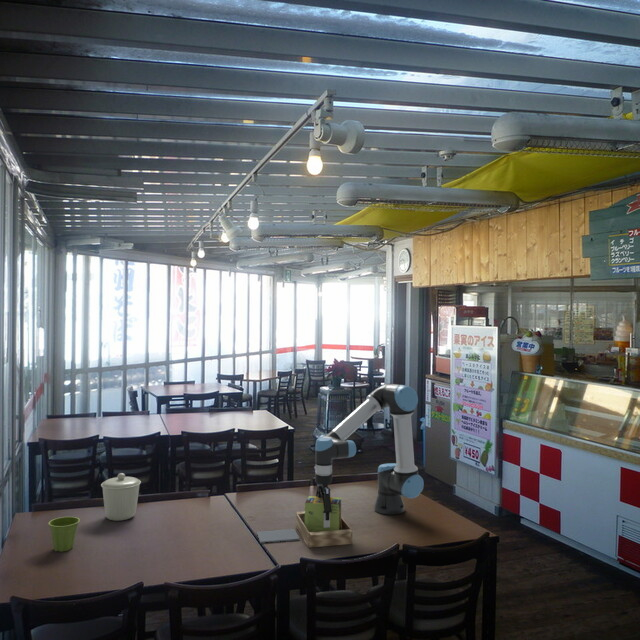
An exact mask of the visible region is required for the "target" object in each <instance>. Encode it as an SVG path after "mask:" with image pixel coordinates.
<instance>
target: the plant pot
mask: <svg viewBox="0 0 640 640" xmlns="http://www.w3.org/2000/svg"><path fill="white" fill-rule="evenodd" d="M80 520H81V519H80V518H79V517H76V516H62V517H56V518H53V519H51V520H50V521H49V522H48V526H49V528H50V532H51V540H52V546H53V550H54V551H55V552H61V553H62V552H68V551H70V550H71V549H73V548H74V544H75V538H76V533H77V528H78V526H79V523H80V522H81V521H80Z"/></svg>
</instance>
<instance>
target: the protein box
mask: <svg viewBox="0 0 640 640" xmlns="http://www.w3.org/2000/svg"><path fill="white" fill-rule="evenodd" d="M330 498H331V509H332V512H330V527H328V528H324V513H323V511H324V505H323V498H321V497H318V496H316V495H315V496H314V495H312V496H311V495H309V496H308V497H307V499H306V501H305V502H304V511H305V526H306V528H307V529H308V531H309V533H310V532H322V531H335V530H341V517H342V497H339V496H338V497H335V496H330ZM327 510H329V509H327Z"/></svg>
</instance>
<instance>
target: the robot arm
mask: <svg viewBox="0 0 640 640" xmlns="http://www.w3.org/2000/svg"><path fill="white" fill-rule="evenodd" d="M418 402H419V397H418V394H417V391H416V390H415V389H414V388H413V387H411V386H408V385H406V384H398V383H397V384H396V383H392V382H390V383H384V384H381V385H380V386H378V387H377V388H375V389H373V390H372V391H371V392H370V393H369V394H368V395H367V396H366V399H365V401H363V402H362V403H361V404H360V405H359V406H358V407H356V408H355V409H354V410H353V411H352V412H350V414H349V415H348V416H347V417H345V418H344V419H343V420H342V421H341V422H340V423H339V424H337V426H335V427H334V428H333V429H332V430H331V431H330V432H329V433H327V434H321V435H320V436H318V438H317V439H316V441H315V448H314V451H315V454H314V455H315V461H314V462H315V464H314V465H315V466H314V467H313V468H314V471H315V474H314V482H315V483H316V492H315V496H318V497H321V498H323V505H324V511H323V513H324V528H328V527H330V512H332V509H331V498H330V497H331V488H329V486H328V485H330V484H331V483H332V482H333V460H337V459H349V458H352V457H354V456H356V453H357V446H356V443H355V442H354V441H353V440H352V439H351V440H349V439H348V438H349V437H350V436H351V435H352V434H354V433H355V432H356V431H357V430H358V429H360V427H361V426H362V425H363V424H364V423H366V422H367V421H368V420H369V419H370V418H371V417H372V416H373V415H374V414H375V413H376V412H378V413H379V412H380V411H382V410H383V409H385V408H388V409H389V415H390V416H392V419H393V420H392V421H393V432H394V447H395V462H396V463H395V462H393V463H392V462H391V463H383V464H380V465H379V466H378V467H377V496H376V499H375V501H374V504H373V506H374V507H373V509H374V511H375V512H376V513H378V514H381V515H388V516H389V515H392V516H393V515H400V514H402V513H404V512H405V504H404V500H403V497H404V498H406V499H407V498H408V499H415V498H417V497H419V495H421V493H422V492H423V490H424V485H425V483H424V479H423V477H422V476H421V475H419V468H418V466H417V465H415V456H414V455H415V452H414V439H413V427H412V415H413V414H414V413H415V409H416V408H417V405H418V404H419V403H418ZM327 509H329V510H327Z"/></svg>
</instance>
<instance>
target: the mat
mask: <svg viewBox="0 0 640 640" xmlns="http://www.w3.org/2000/svg"><path fill="white" fill-rule="evenodd" d="M256 535H258V536H257V538H259V539H258V541H259V543H260V544H266V543H265V542H273V543H283V542H282V541H286V542H293V541H294V542H296V541H297V542H298V541H300V537H299V535H298V533H297V531H296V530H295V528H289V529H288V528H287V529H275V530H264V531H263V530H262V531H256ZM280 541H281V542H280Z"/></svg>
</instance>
